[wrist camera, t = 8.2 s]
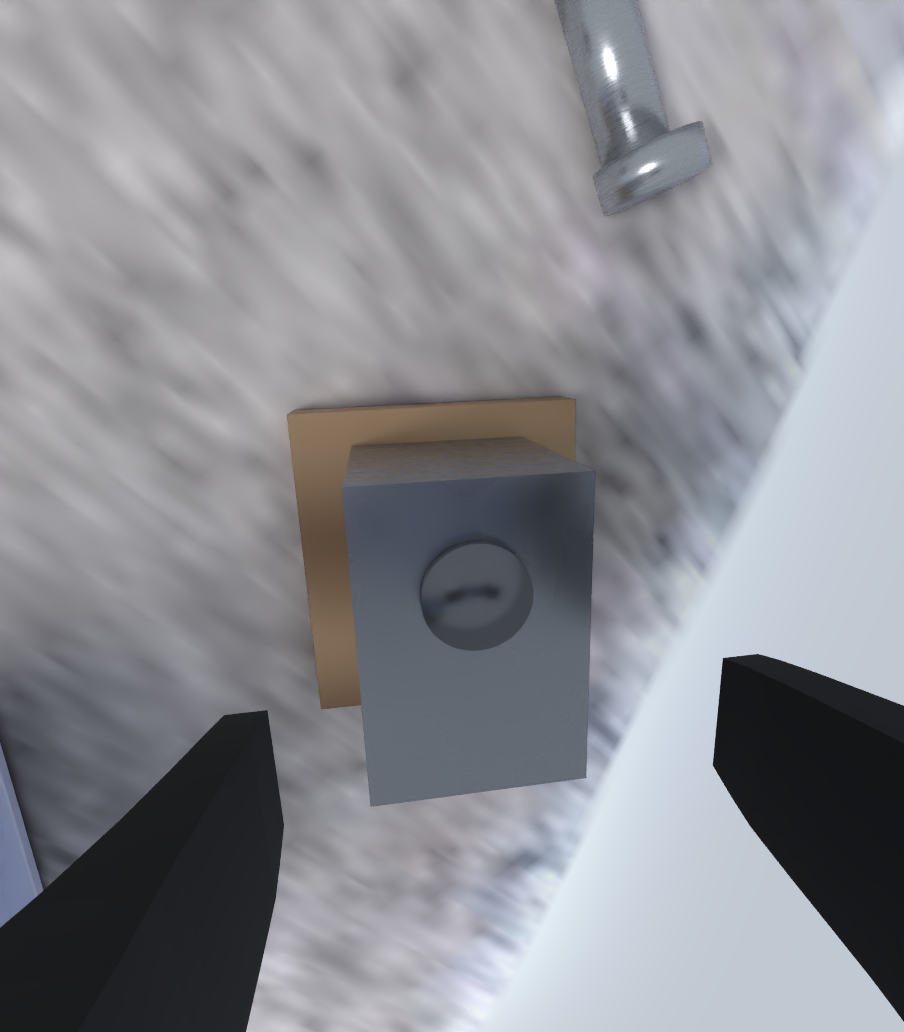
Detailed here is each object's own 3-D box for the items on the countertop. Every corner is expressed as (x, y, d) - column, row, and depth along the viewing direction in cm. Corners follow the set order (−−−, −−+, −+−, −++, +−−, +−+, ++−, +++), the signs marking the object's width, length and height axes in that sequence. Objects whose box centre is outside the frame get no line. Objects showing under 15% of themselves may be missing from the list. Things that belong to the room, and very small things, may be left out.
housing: (523, 656, 18) (591, 787, 12) (370, 672, 17) (370, 817, 12) (522, 435, 16) (601, 473, 11) (351, 445, 16) (341, 490, 10)
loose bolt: (676, 187, 16) (736, 152, 14) (588, 224, 16) (631, 197, 14) (617, -51, 15) (671, -144, 12) (518, -11, 15) (551, -94, 12)
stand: (556, 657, 20) (571, 680, 18) (324, 683, 19) (321, 709, 17) (559, 396, 18) (575, 399, 16) (294, 410, 17) (286, 414, 15)
